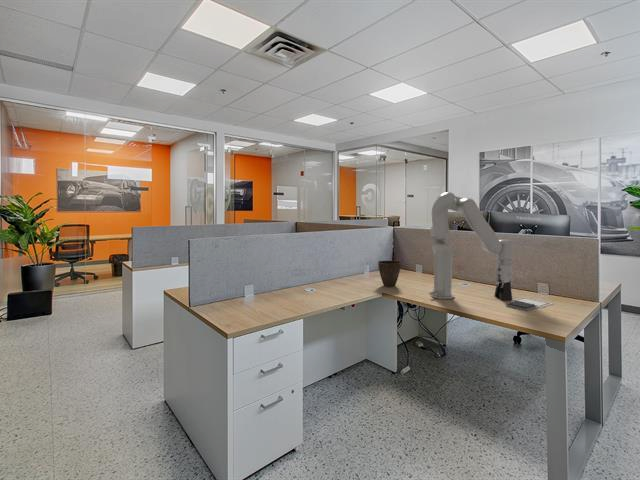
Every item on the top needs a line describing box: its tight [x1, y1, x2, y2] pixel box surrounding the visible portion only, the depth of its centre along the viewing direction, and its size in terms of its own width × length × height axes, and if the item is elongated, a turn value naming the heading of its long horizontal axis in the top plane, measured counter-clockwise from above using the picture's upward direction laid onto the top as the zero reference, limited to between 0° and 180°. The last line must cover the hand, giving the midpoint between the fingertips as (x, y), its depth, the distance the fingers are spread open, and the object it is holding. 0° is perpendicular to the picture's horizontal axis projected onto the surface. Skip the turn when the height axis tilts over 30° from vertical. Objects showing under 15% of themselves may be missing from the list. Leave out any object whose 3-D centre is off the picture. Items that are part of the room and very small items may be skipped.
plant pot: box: [377, 260, 402, 288], centre depth 220 cm, size 15×15×16 cm
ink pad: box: [506, 301, 538, 312], centre depth 170 cm, size 10×10×2 cm
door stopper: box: [493, 279, 513, 302], centre depth 186 cm, size 9×6×12 cm, turn 173°
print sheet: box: [510, 297, 553, 309], centre depth 178 cm, size 13×15×1 cm
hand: (503, 293), depth 186 cm, fingers closed on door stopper, 5 cm apart
